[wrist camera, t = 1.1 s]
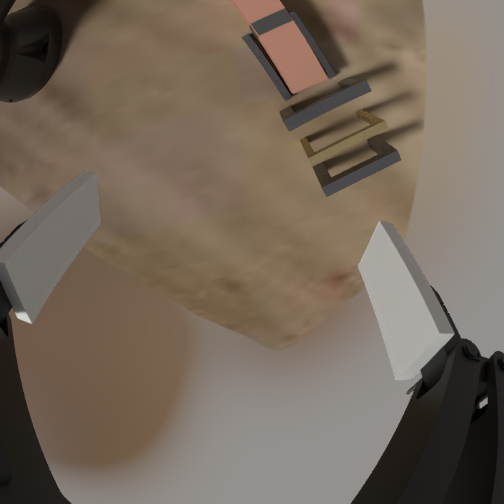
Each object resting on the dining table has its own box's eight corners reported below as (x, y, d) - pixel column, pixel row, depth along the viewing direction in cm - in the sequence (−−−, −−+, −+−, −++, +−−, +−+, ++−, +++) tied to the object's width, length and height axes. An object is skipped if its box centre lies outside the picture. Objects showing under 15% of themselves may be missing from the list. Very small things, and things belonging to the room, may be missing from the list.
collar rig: (232, 43, 26) (223, 36, 20) (303, 7, 23) (313, -9, 17) (316, 174, 35) (328, 200, 29) (379, 143, 32) (404, 162, 26)
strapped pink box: (218, -14, 21) (212, -24, 18) (251, -29, 20) (249, -41, 17) (289, 92, 29) (292, 94, 26) (321, 77, 28) (329, 78, 25)
